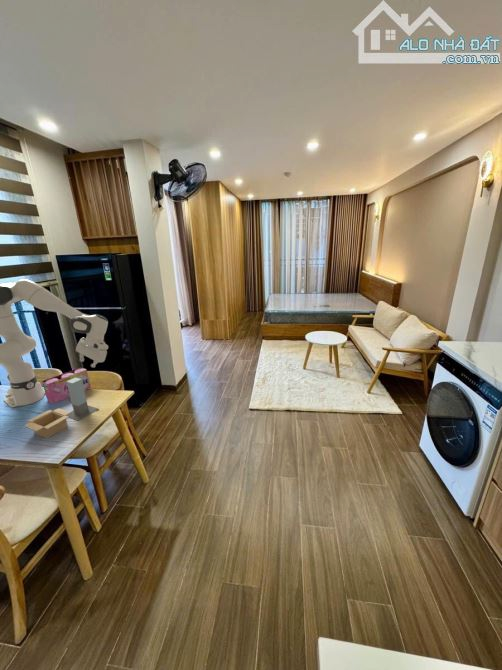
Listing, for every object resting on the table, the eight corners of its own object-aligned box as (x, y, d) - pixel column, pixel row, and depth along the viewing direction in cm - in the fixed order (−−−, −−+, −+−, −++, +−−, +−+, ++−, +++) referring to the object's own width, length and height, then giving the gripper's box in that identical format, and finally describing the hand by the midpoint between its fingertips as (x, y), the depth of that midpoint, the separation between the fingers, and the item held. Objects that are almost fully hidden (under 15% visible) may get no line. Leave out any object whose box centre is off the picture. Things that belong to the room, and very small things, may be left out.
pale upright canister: (74, 413, 143) (66, 381, 137) (82, 408, 148) (75, 377, 142) (80, 415, 142) (72, 383, 135) (88, 410, 146) (81, 379, 140)
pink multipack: (86, 384, 177) (82, 366, 173) (93, 387, 173) (89, 368, 169) (46, 400, 157) (41, 380, 153) (52, 404, 154) (47, 384, 149)
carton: (24, 435, 127) (20, 424, 125) (58, 417, 141) (55, 406, 139) (44, 444, 121) (40, 432, 119) (77, 424, 135) (74, 413, 133)
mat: (64, 416, 142) (63, 415, 142) (84, 405, 152) (84, 404, 152) (78, 421, 137) (78, 420, 137) (98, 409, 148) (98, 408, 148)
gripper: (76, 336, 150) (69, 358, 151) (101, 347, 144) (94, 370, 145) (86, 336, 156) (79, 357, 157) (110, 347, 150) (103, 369, 151)
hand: (87, 364), depth 151 cm, fingers open, 8 cm apart
